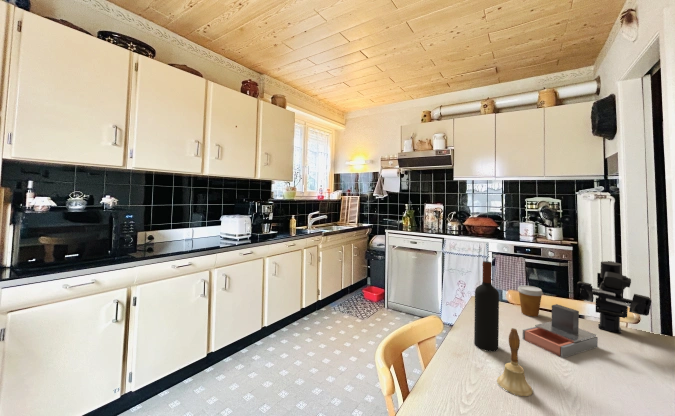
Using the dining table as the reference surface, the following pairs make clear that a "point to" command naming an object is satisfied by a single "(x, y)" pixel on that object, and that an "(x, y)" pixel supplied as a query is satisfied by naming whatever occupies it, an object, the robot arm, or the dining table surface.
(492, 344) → the wine bottle
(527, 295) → the disposable coffee cup
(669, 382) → the dining table surface
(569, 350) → the grey box tray
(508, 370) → the hand bell
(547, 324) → the lid
